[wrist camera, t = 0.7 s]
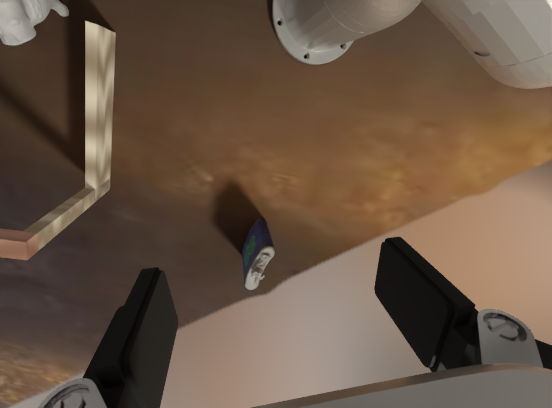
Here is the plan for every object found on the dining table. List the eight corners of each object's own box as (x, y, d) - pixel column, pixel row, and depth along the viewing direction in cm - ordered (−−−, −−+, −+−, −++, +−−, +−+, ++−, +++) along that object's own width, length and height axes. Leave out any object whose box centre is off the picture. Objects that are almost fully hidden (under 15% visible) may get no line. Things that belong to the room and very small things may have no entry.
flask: (251, 259, 51) (256, 299, 42) (237, 256, 50) (239, 296, 41) (270, 220, 48) (280, 254, 39) (255, 216, 47) (261, 248, 38)
